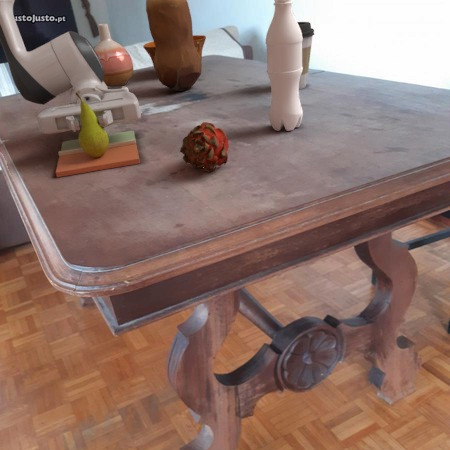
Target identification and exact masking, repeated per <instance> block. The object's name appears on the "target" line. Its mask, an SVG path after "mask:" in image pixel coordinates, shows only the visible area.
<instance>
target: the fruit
mask: <svg viewBox="0 0 450 450" xmlns="http://www.w3.org/2000/svg"><path fill="white" fill-rule="evenodd" d="M76 96H78V97H79V98H80V100H81V105H80V107H81V131H78V139H79V143H80V146H81V148H82V149H83V150H84V151H85V152H86V153H87V154H88V155H90V156H91V157H94V158H97V157H101V156H103V155H104V154H105V152H106V150H107V148H108V144H109V140H108V136H107V135H108V133H107V131H106V130H105V129H104V128H103V127H100V123H99V121H98V119H97V117H96V116H95V114H94V112H93V111H92V109H91V108H90V107H89V106H88V105H87V104H86V103H85V102H83V101H82V99H81V97H80V95H79V94H78V93H77V92H76Z"/></svg>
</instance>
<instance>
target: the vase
mask: <svg viewBox="0 0 450 450" xmlns="http://www.w3.org/2000/svg"><path fill="white" fill-rule="evenodd" d="M97 29H98V34H99V39H100V40H99V42H98V43H97V45H96V46H95V47H93V48H94V50H95V52H96V53H97V55H98V57H99V59H100V61H101V64H102V66H103V69H104V79H103V81H104V83H105V84H106V86H107V87H116V86H121V87H122V86H126V85H127V84H128V81H129V80H131V78H132V76H133V73H134V63H133V59H132V57H131V55H130V53H129V51H128V50H127V49H126V48H125V47H124V46H123V45H121V44H120V43H119V42H117V41H115V40H113V39H112V36H111V33H110V28H109V24H108V23H99V24H97Z"/></svg>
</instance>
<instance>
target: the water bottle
mask: <svg viewBox="0 0 450 450" xmlns="http://www.w3.org/2000/svg"><path fill="white" fill-rule="evenodd" d="M273 1H274V3H273V6H274V12H273V17H272V19H271V21H270V24H269V27H268V29H267V31H266V36H265V47H266V73H267V75H268V76H267V77H268V79H269V83H270V91H271V98H270V99H271V100H270V106H269V107H270V108H269V111H268V120H269V122H270V125H271V128H273V130H274V131H278V132H279V131H281V129H282V128H283V127H284V129H285V131H287V132H291V131H293V130H294V129H295V128H299V127H300V126H301V124H302V121H303V115H304V110H303V107H302V103H301V100H300V99H301V98H300V89H299V81H300V76H301V73H302V71H303V67H302V41H303V37H302V32H301V29H300V27H299V25H298V22H299V21H298V20H297V19H296V17H295V15H294V11H293V5H292V4H294V1H292V0H273Z"/></svg>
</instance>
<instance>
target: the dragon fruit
mask: <svg viewBox="0 0 450 450" xmlns="http://www.w3.org/2000/svg"><path fill="white" fill-rule="evenodd" d="M229 147H230V146H229V139H228V137H227V133H226V132H225V131H224V129H222V128H220V127H218V128H217V127H216V126H215V125H214V123H212V122H208V121H204V122H203V121H202V122H201V124H198V125H196V126H195V127H193V128H192V129H191V130H190V132H189V133H187V135H186V136H185V137H184V138H183V139H182V146H181V147H180V150H179V152H180V153H181V154H183V156H182V160H183V162H185V163H186V164H189V165H190V166H192V167H194V168H195V169H199V170H200V171H204V172H209V173H210V172H212V171H214V170H215V168H216V166H218V167H221V166H222V165H224V166H225V165H226V164H227V162H228V158H229V157H228V151H229ZM203 167H204V168H203Z"/></svg>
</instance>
